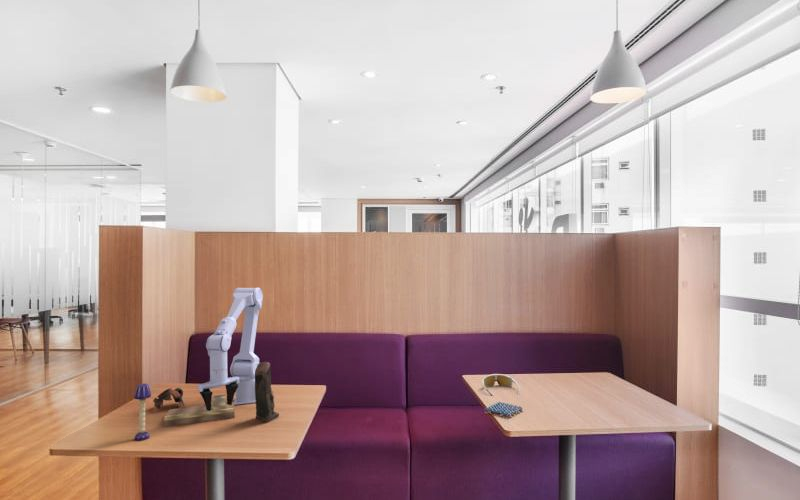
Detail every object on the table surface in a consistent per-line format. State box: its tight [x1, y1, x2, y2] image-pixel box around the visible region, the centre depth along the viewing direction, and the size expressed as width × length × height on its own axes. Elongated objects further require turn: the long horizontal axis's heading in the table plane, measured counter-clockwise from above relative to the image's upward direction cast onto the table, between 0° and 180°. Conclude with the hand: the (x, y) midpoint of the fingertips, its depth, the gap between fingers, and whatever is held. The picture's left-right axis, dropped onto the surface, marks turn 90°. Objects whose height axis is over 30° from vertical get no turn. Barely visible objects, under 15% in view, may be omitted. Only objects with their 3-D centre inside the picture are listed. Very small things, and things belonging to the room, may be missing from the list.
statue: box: [255, 361, 280, 423], centre depth 159 cm, size 7×7×20 cm
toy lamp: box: [133, 383, 152, 441], centre depth 144 cm, size 5×5×17 cm
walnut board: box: [164, 401, 236, 427], centre depth 163 cm, size 22×12×4 cm, turn 110°
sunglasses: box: [481, 373, 521, 397], centre depth 187 cm, size 14×15×5 cm
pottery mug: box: [152, 387, 185, 409], centre depth 174 cm, size 12×10×8 cm
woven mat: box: [483, 401, 524, 420], centre depth 162 cm, size 10×11×2 cm
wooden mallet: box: [212, 394, 227, 410], centre depth 165 cm, size 4×10×5 cm, turn 20°
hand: (219, 407), depth 162 cm, fingers open, 7 cm apart
